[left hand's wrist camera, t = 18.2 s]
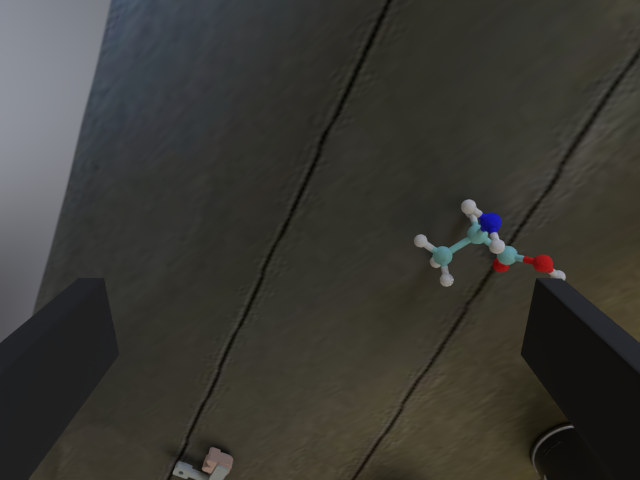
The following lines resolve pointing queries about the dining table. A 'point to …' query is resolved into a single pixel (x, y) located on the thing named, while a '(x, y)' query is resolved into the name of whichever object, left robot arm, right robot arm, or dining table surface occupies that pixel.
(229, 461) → the clamp
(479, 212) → the molecular model
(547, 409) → the dining table surface
